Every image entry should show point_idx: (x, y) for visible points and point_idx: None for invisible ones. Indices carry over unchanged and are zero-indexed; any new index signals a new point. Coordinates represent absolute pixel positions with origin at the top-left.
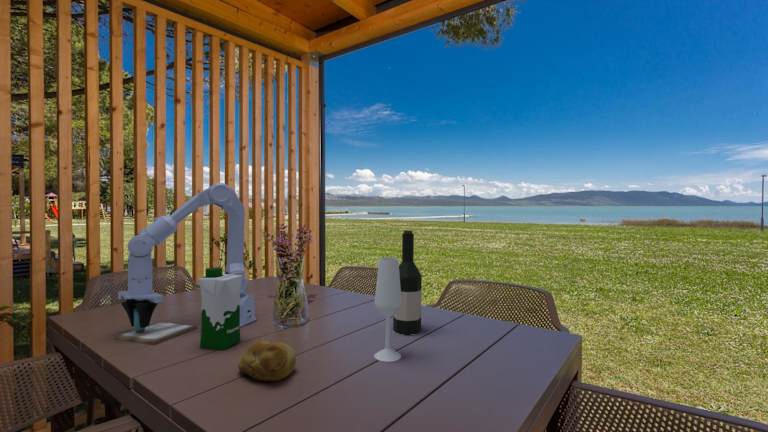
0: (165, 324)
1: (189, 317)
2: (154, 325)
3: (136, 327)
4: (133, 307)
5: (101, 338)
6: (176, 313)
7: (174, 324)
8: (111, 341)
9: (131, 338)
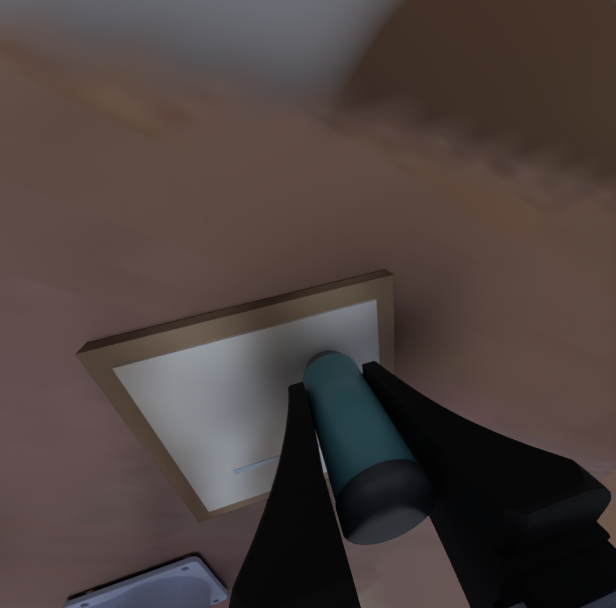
0: None
1: None
2: None
3: (323, 369)
4: (449, 491)
5: (456, 234)
6: None
7: None
8: (365, 239)
9: (270, 305)
